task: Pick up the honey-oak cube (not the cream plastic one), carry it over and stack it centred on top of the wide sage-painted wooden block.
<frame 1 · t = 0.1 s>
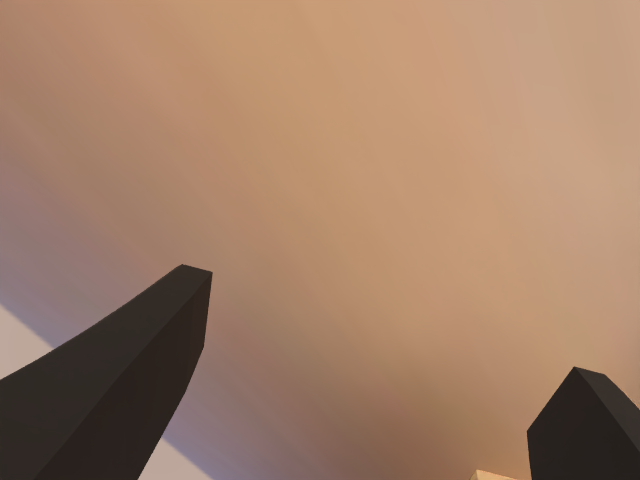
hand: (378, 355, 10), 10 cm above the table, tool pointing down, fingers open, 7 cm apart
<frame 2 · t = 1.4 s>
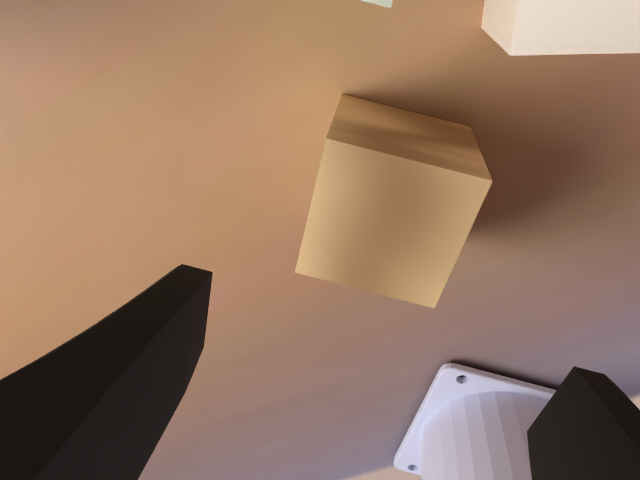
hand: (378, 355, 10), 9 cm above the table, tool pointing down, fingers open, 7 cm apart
oak cube: (387, 168, 18), on the table
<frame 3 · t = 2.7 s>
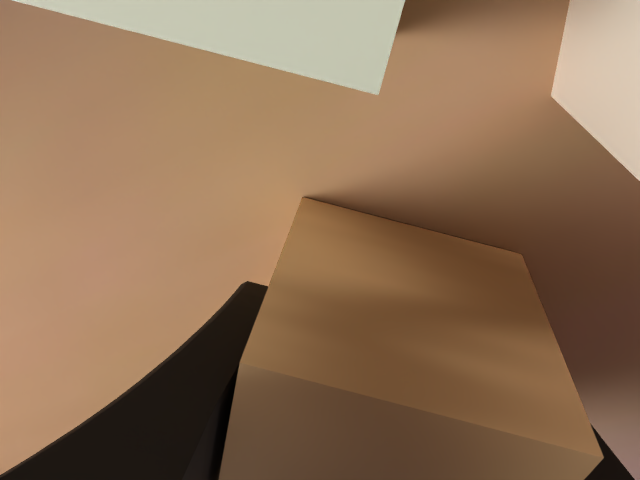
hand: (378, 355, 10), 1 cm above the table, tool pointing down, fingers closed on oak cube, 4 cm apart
oak cube: (380, 309, 11), on the table, touching gripper
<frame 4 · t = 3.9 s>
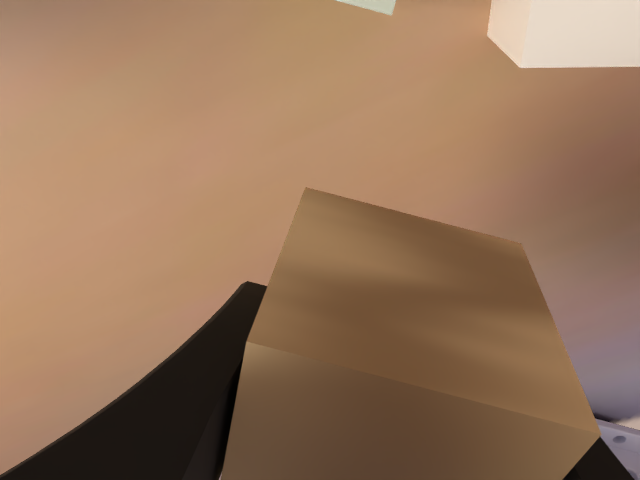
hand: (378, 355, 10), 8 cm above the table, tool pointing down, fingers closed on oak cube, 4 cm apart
oak cube: (381, 299, 11), point 7 cm above the table, touching gripper
when the fingers open (6 cm above the table, at t = 5.3 s): oak cube stays where it is, point 4 cm above the table.
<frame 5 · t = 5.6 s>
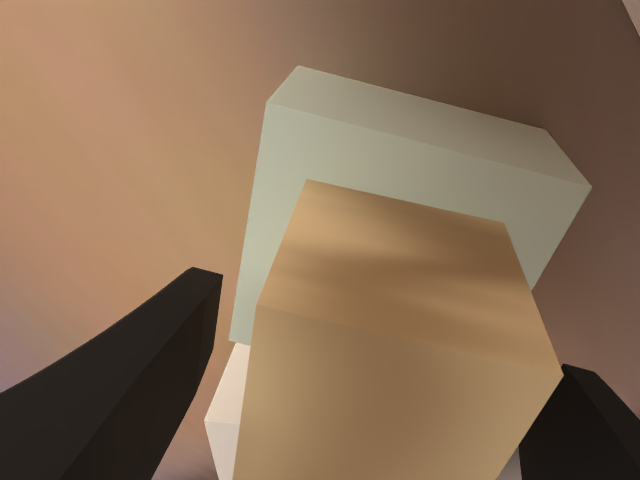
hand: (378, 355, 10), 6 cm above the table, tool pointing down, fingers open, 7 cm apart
cream cube: (304, 369, 19), on the table
oak cube: (380, 280, 12), point 4 cm above the table
sage block: (385, 203, 15), on the table
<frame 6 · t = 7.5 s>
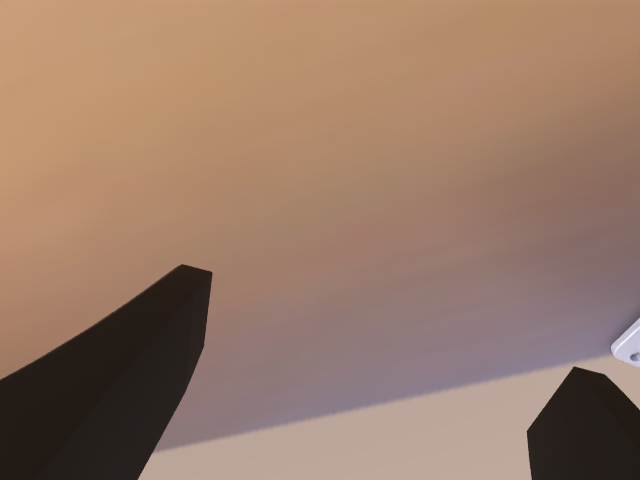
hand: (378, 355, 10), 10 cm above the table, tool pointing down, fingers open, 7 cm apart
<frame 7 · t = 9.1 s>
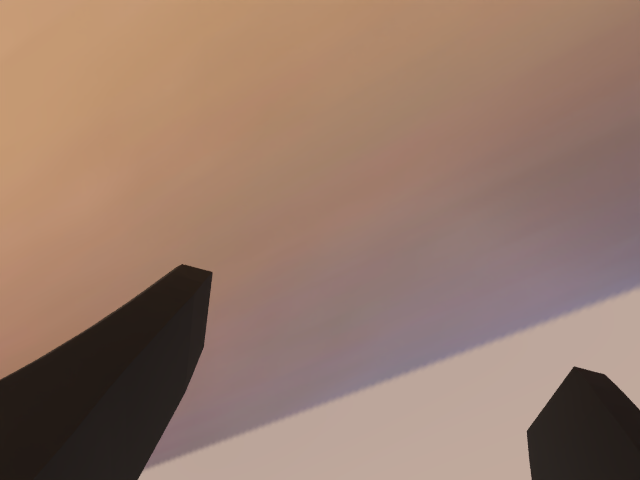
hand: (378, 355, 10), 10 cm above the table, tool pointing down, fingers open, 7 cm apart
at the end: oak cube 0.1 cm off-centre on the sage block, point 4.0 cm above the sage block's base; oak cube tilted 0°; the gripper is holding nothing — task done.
